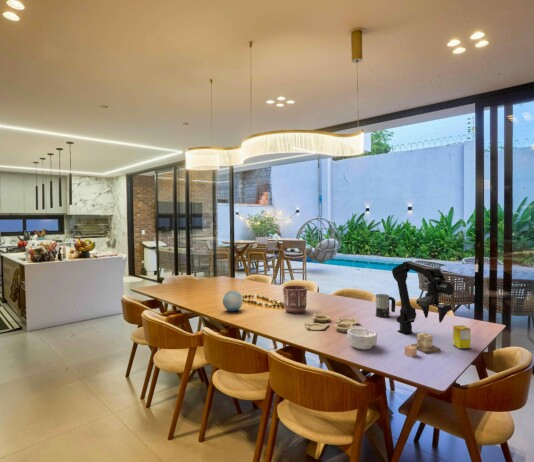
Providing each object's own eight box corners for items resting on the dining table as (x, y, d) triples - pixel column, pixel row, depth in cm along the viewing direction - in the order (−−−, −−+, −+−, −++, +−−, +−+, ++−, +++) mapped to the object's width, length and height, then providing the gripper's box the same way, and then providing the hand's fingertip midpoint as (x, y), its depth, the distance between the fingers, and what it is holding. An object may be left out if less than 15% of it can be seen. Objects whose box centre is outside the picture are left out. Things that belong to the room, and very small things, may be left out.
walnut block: (410, 348, 180) (410, 344, 180) (424, 345, 184) (424, 341, 184) (425, 355, 171) (425, 351, 171) (440, 352, 175) (440, 348, 175)
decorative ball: (245, 308, 262) (244, 289, 261) (240, 314, 247) (239, 293, 246) (226, 308, 264) (226, 288, 264) (220, 313, 249) (220, 292, 249)
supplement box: (463, 345, 182) (463, 325, 182) (470, 349, 176) (470, 328, 176) (452, 345, 182) (452, 325, 182) (459, 349, 176) (459, 328, 176)
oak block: (417, 345, 179) (417, 334, 179) (424, 343, 181) (424, 332, 181) (425, 348, 174) (425, 337, 174) (432, 346, 176) (432, 335, 176)
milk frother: (381, 318, 233) (381, 297, 232) (366, 313, 247) (366, 292, 247) (397, 316, 238) (397, 295, 238) (381, 310, 253) (381, 291, 253)
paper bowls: (381, 345, 182) (381, 331, 182) (368, 354, 171) (369, 338, 171) (355, 339, 193) (355, 325, 192) (341, 347, 181) (341, 332, 181)
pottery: (301, 307, 264) (300, 284, 263) (311, 313, 247) (310, 288, 247) (279, 309, 258) (279, 286, 258) (288, 315, 242) (288, 290, 241)
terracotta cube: (404, 354, 170) (404, 346, 170) (409, 352, 173) (409, 345, 173) (412, 357, 167) (412, 349, 167) (416, 355, 169) (416, 347, 169)
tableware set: (360, 321, 229) (360, 315, 228) (360, 335, 200) (360, 328, 200) (308, 317, 238) (308, 311, 238) (301, 330, 210) (301, 324, 210)
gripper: (408, 289, 190) (408, 317, 190) (436, 296, 172) (436, 326, 173) (423, 287, 194) (423, 315, 194) (452, 294, 176) (452, 324, 177)
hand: (433, 320), depth 184 cm, fingers open, 9 cm apart
